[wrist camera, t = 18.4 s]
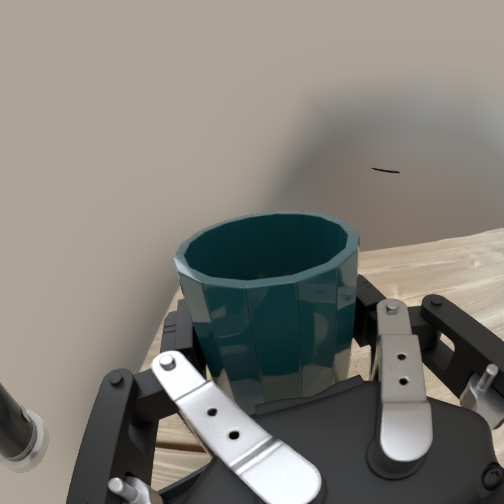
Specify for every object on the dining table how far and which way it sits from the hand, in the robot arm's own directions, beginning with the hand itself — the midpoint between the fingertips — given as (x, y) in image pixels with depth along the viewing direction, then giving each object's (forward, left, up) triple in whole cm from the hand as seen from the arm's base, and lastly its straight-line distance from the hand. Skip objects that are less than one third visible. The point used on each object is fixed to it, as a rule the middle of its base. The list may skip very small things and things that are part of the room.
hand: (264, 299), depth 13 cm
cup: (0, -2, -6) cm, 6 cm away
